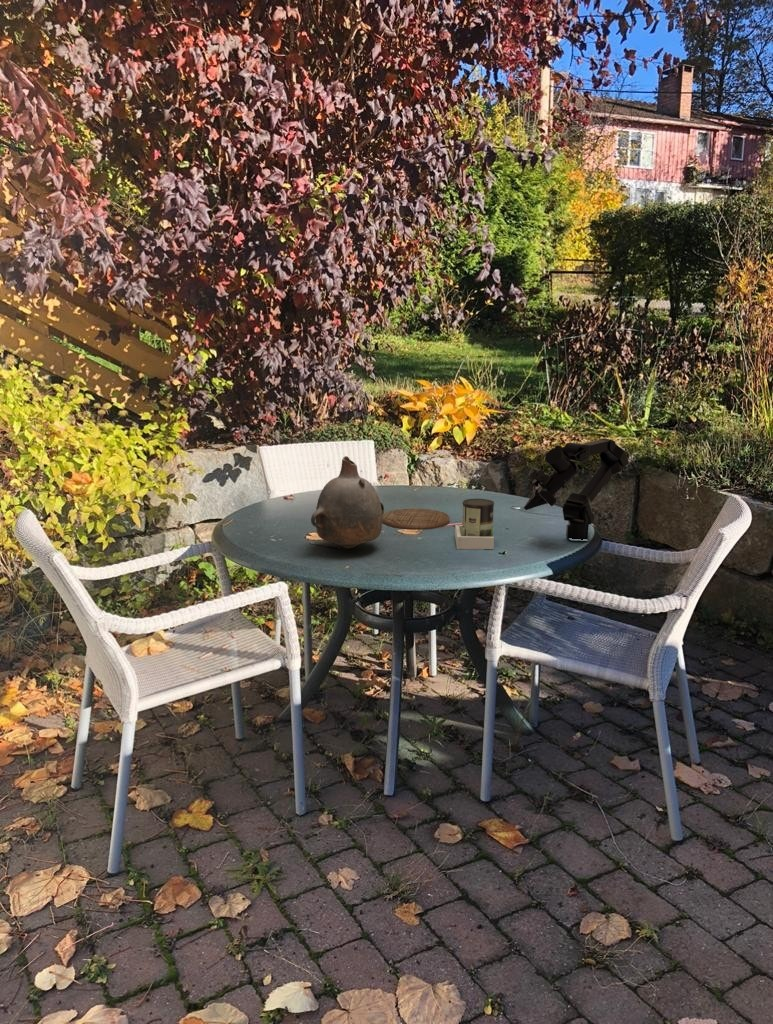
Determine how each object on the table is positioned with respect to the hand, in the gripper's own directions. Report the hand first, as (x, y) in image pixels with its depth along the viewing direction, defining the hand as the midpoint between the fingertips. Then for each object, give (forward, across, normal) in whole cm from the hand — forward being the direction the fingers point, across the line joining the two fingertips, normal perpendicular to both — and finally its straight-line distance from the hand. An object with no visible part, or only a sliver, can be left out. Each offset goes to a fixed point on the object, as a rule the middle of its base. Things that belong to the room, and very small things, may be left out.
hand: (524, 508), depth 261 cm
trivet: (+34, -27, -17) cm, 47 cm away
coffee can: (+19, 0, -2) cm, 19 cm away
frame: (+20, 0, -3) cm, 20 cm away
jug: (+49, +10, -32) cm, 59 cm away
